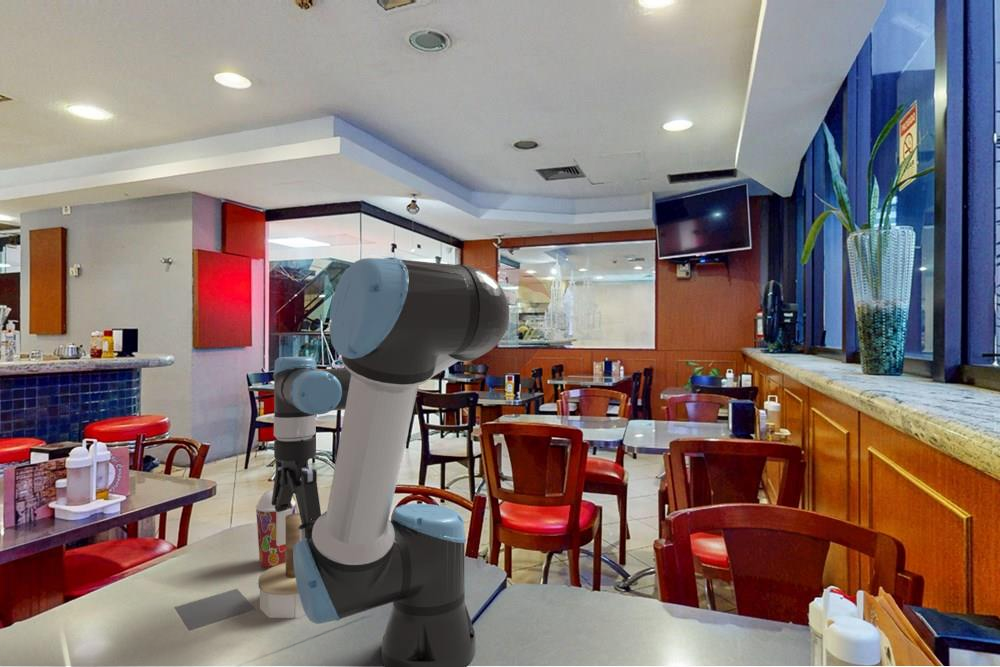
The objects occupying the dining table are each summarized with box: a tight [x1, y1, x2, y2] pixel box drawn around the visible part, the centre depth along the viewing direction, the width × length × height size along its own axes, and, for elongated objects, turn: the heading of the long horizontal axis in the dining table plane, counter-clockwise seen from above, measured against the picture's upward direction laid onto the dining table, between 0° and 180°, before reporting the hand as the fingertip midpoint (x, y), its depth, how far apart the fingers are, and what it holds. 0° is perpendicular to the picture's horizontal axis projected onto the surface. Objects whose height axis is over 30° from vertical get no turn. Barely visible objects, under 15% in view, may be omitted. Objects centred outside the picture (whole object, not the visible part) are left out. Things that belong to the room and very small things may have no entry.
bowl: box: [259, 589, 306, 619], centre depth 104 cm, size 12×12×5 cm
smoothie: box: [255, 488, 297, 569], centre depth 122 cm, size 8×8×20 cm
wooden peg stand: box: [258, 512, 302, 595], centre depth 104 cm, size 13×13×12 cm
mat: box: [174, 588, 256, 631], centre depth 102 cm, size 11×11×1 cm
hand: (295, 552), depth 104 cm, fingers open, 11 cm apart
